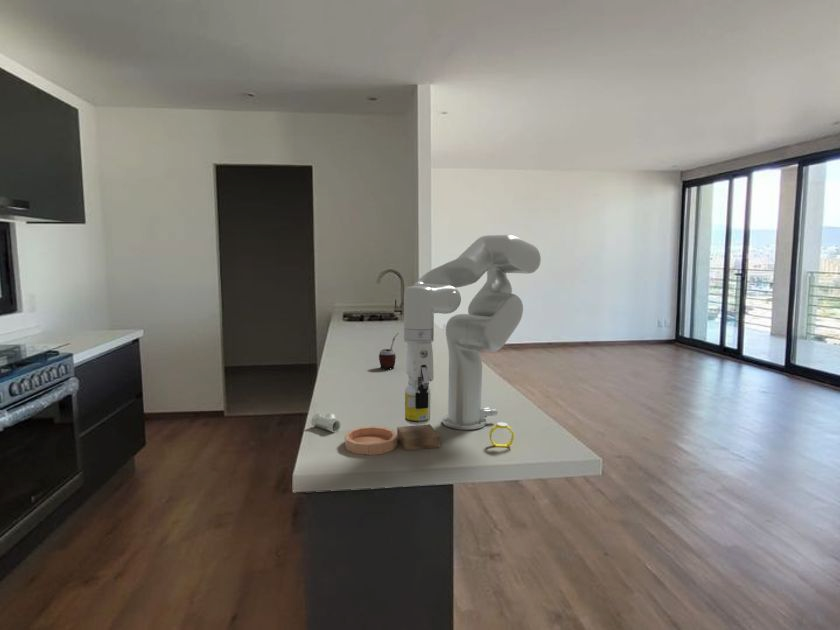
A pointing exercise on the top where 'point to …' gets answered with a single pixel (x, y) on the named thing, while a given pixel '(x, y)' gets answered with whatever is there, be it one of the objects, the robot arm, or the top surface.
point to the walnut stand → (418, 437)
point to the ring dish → (370, 440)
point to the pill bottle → (411, 412)
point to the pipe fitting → (326, 422)
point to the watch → (501, 425)
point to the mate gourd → (387, 357)
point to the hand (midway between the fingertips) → (418, 403)
